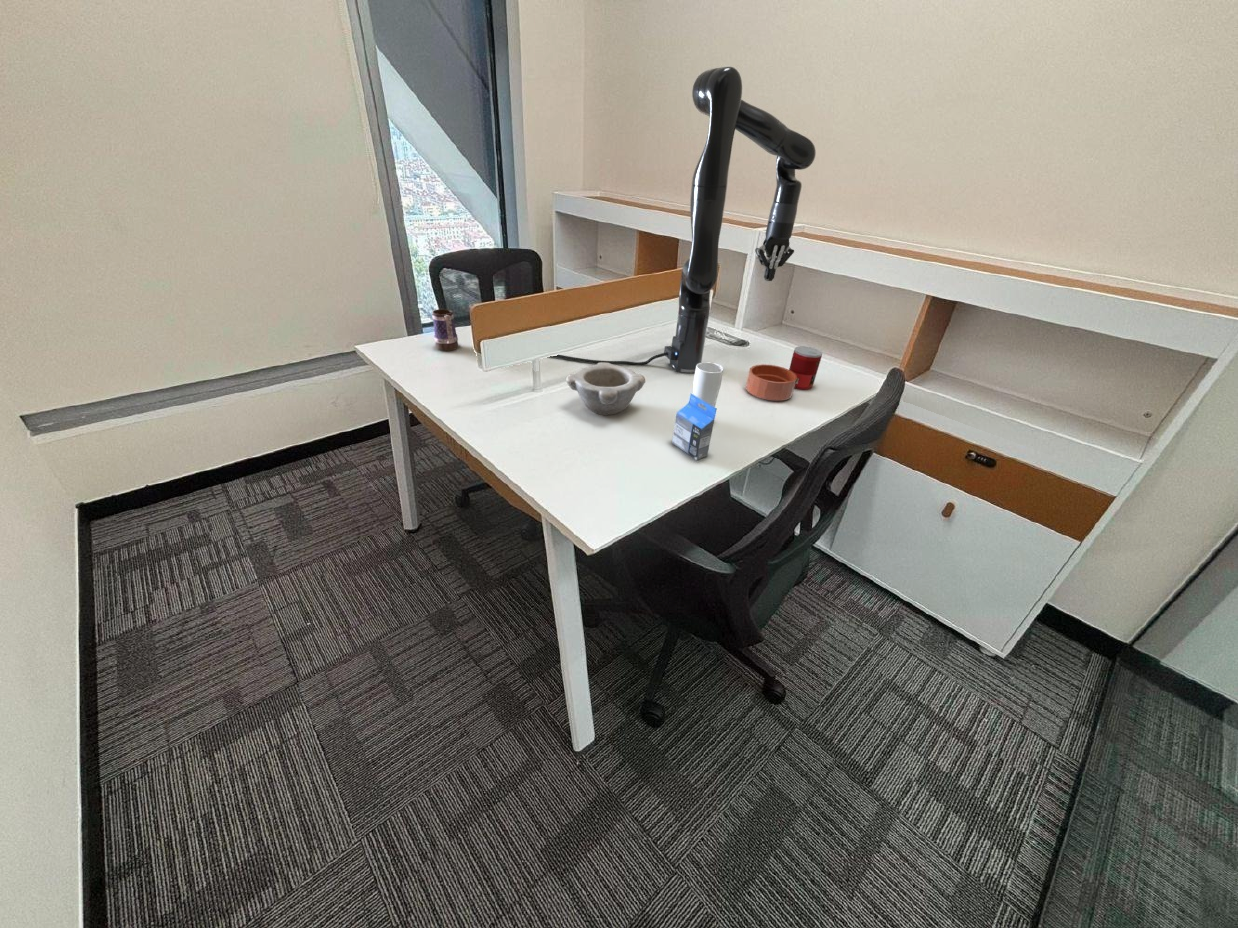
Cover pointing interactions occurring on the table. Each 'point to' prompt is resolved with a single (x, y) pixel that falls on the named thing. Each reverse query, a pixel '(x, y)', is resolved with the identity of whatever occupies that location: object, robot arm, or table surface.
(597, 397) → the mortar
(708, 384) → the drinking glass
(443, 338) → the mug
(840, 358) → the table surface
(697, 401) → the blue product box
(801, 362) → the canned food
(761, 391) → the bowl
